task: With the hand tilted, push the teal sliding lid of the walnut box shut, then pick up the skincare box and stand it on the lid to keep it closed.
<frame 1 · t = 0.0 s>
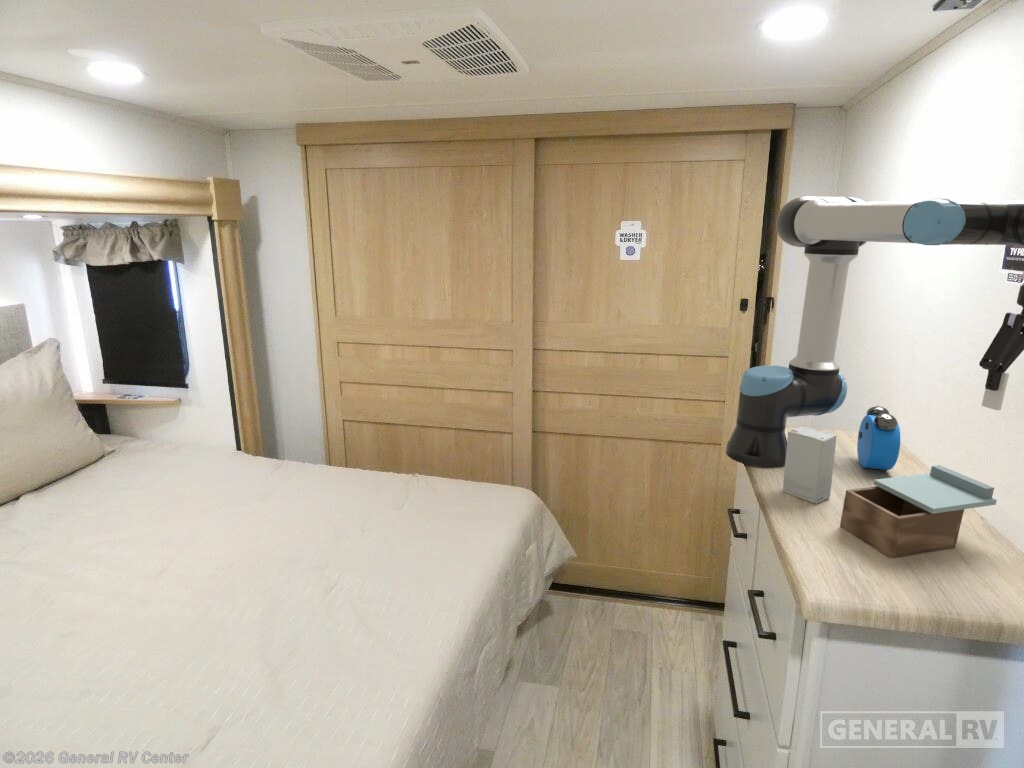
hand: (1020, 405, 104), 28 cm above the table, tool pointing down, fingers open, 13 cm apart
skincare box: (804, 495, 133), on the table
alarm clock: (872, 468, 148), on the table
lid: (933, 487, 114), point 10 cm above the table, slide at 7.0 cm
box: (895, 537, 115), on the table
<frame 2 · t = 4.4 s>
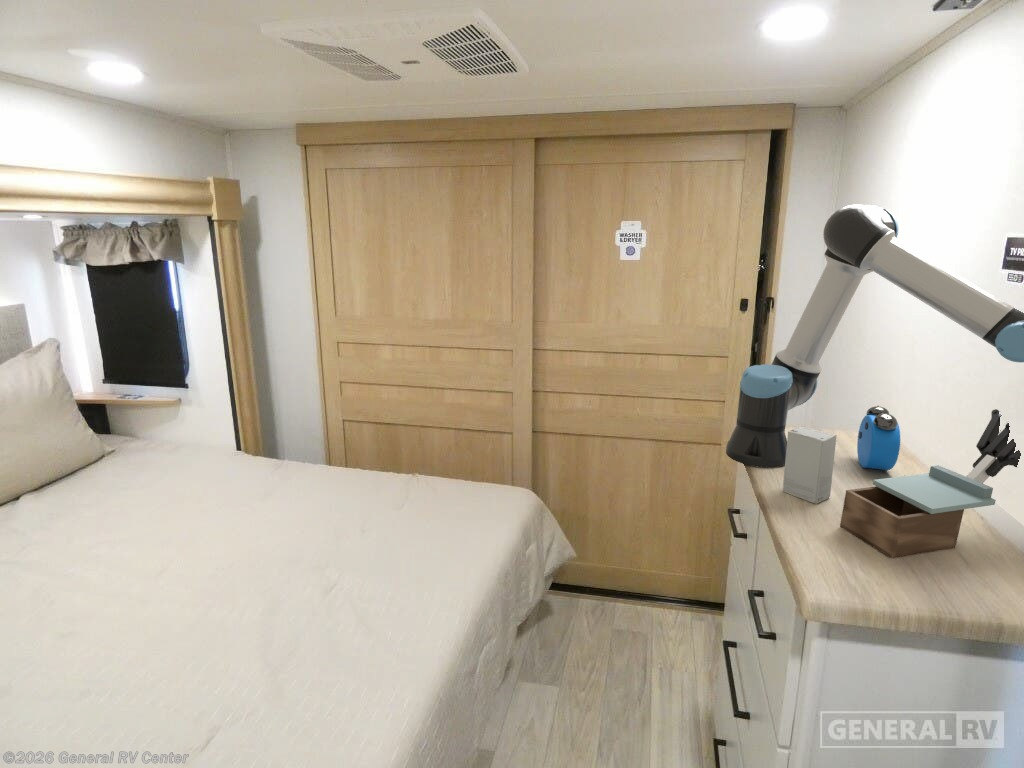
hand: (970, 484, 116), 10 cm above the table, tool tilted 45°, fingers closed
lid: (932, 487, 114), point 10 cm above the table, slide at 6.7 cm, touching gripper
everything else where it was.
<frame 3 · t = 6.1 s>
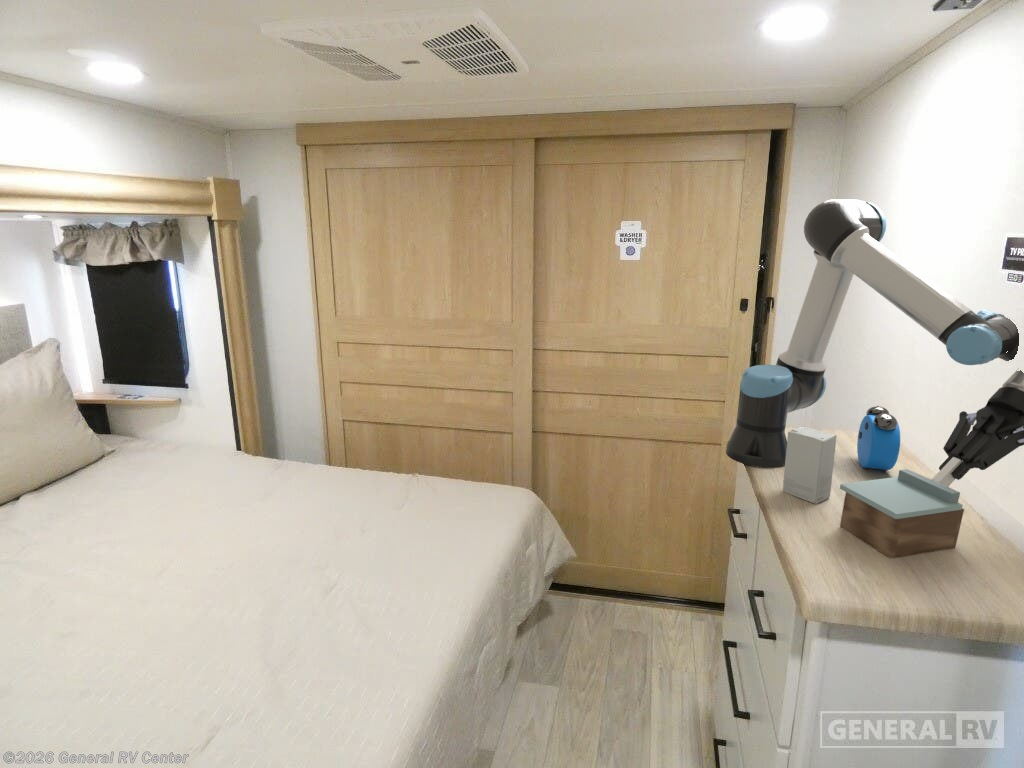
hand: (936, 486, 114), 10 cm above the table, tool tilted 45°, fingers closed
lid: (899, 491, 112), point 10 cm above the table, slide at -1.2 cm, touching gripper
everything else where it was.
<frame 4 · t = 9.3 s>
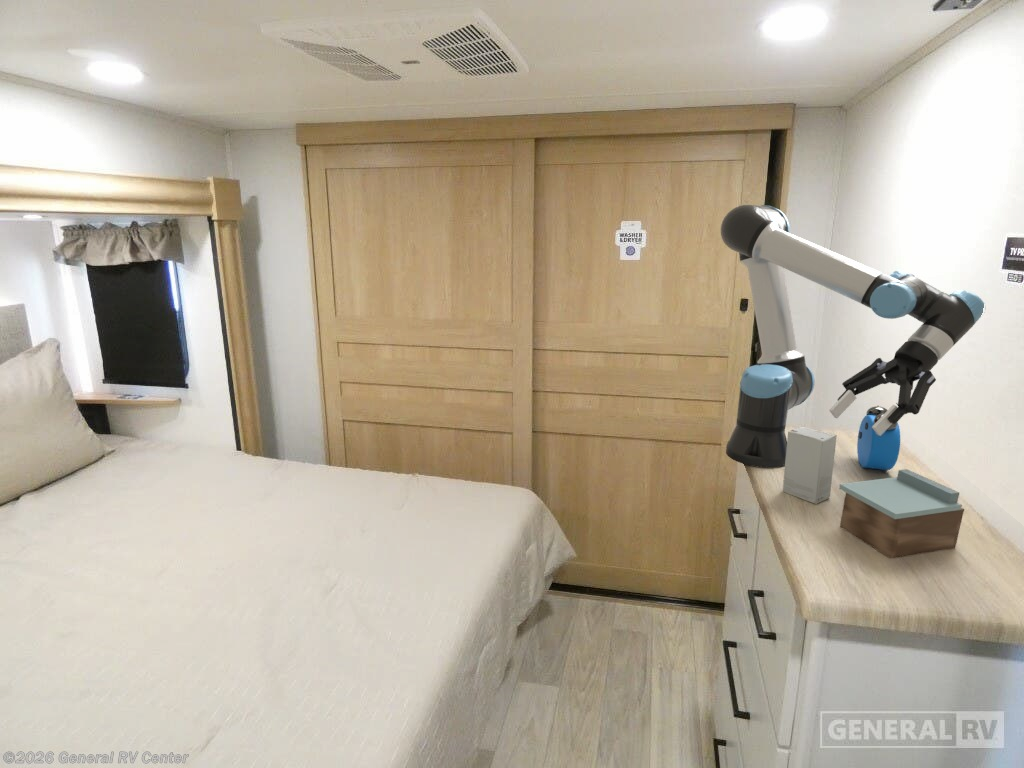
hand: (853, 422, 131), 16 cm above the table, tool tilted 45°, fingers open, 11 cm apart
lid: (899, 491, 112), point 10 cm above the table, slide at -1.4 cm
everything else where it was.
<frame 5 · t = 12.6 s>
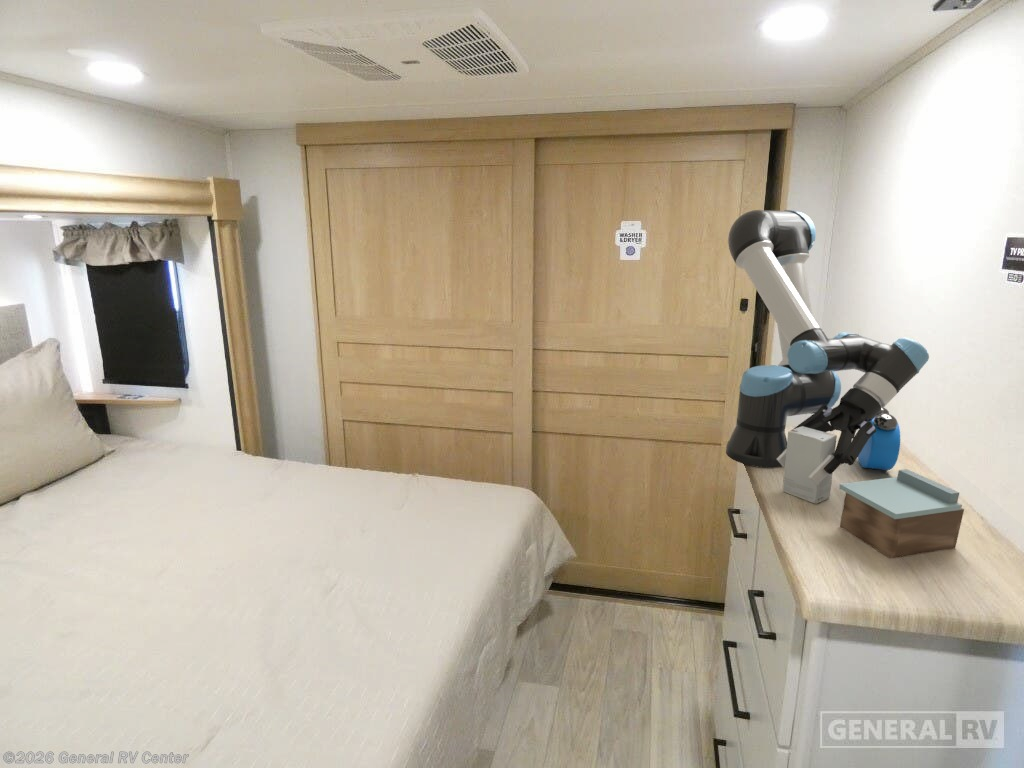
hand: (795, 471, 130), 6 cm above the table, tool tilted 45°, fingers closed on skincare box, 9 cm apart
skincare box: (804, 495, 133), on the table, touching gripper
everything else where it was.
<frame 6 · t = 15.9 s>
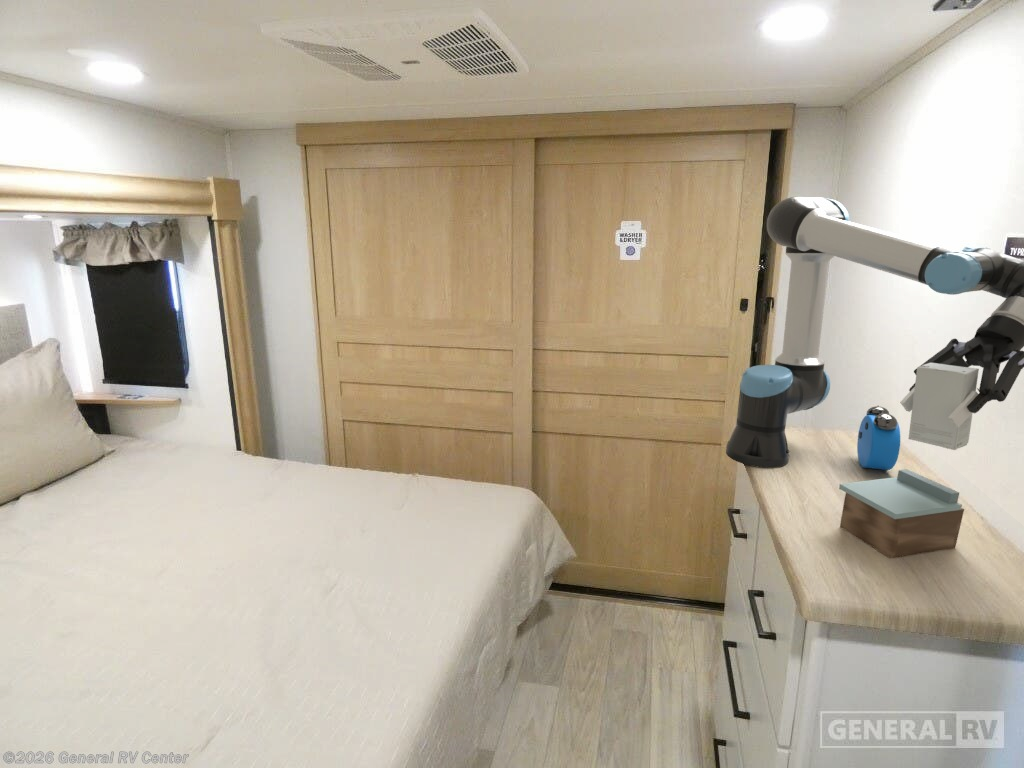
hand: (928, 414, 111), 24 cm above the table, tool tilted 45°, fingers closed on skincare box, 9 cm apart
skincare box: (935, 443, 114), point 18 cm above the table, touching gripper
everything else where it was.
when the fingers open (16 cm above the table, at t = 19.1 s): skincare box drops 1 cm, resting on lid.
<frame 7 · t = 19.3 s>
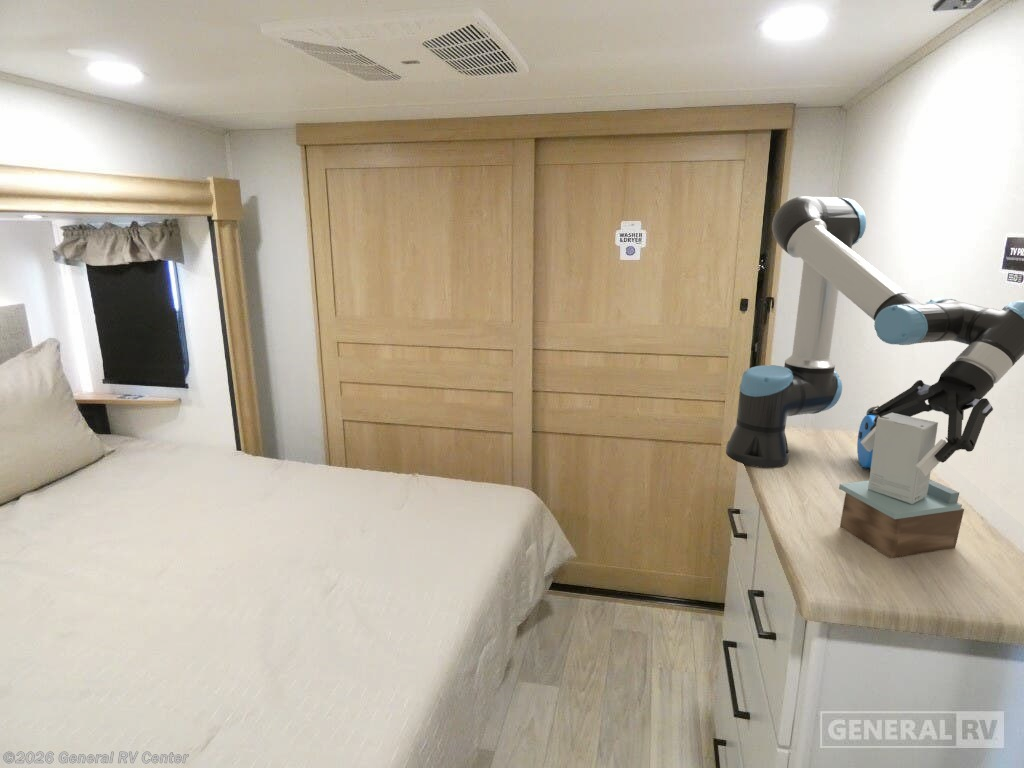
hand: (891, 458, 109), 17 cm above the table, tool tilted 45°, fingers open, 11 cm apart
skincare box: (894, 494, 112), point 9 cm above the table, touching lid
lid: (899, 491, 112), point 10 cm above the table, slide at -1.4 cm, touching skincare box
everything else where it was.
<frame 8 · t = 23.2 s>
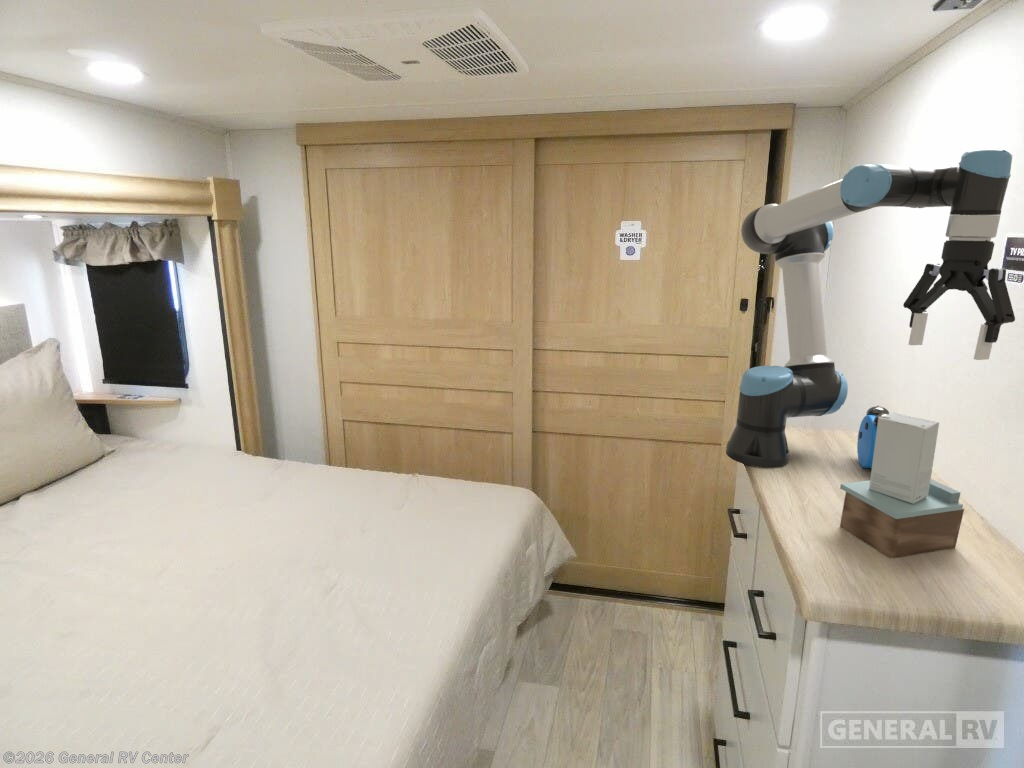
hand: (946, 351, 115), 35 cm above the table, tool pointing down, fingers open, 13 cm apart
nothing on the table moved.
at the end: lid slide at -1.1 cm; skincare box inside the target area (0.7 cm from its centre), point 9.1 cm above the table; skincare box tilted 0° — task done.
